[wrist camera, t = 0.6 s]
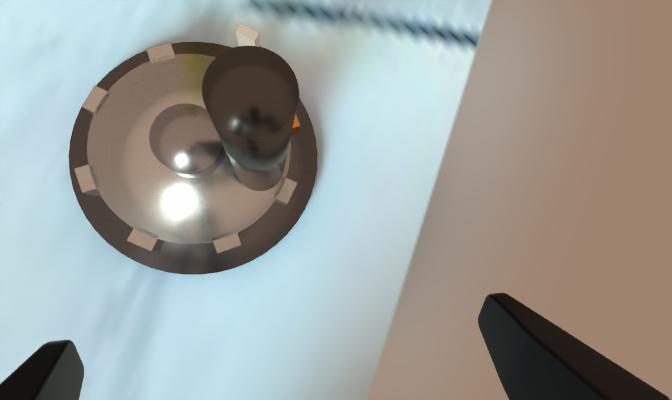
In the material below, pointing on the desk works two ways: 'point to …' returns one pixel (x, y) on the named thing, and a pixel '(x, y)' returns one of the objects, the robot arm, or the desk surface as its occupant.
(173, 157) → the sprocket
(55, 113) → the desk surface
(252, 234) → the base plate
